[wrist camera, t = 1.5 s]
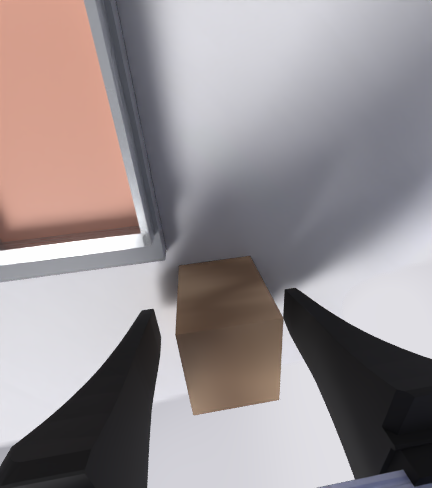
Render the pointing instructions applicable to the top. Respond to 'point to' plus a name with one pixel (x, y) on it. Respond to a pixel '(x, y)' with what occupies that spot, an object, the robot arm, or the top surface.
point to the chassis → (70, 144)
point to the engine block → (228, 335)
